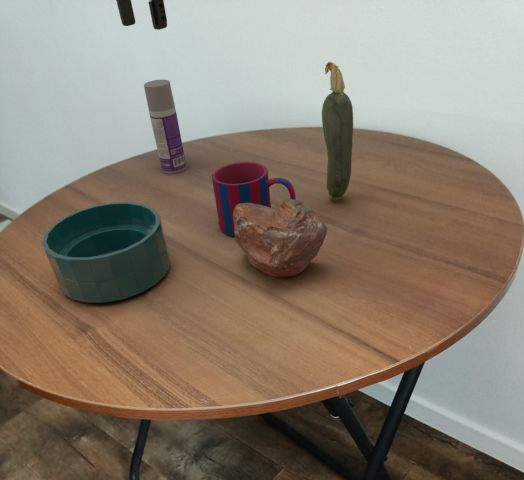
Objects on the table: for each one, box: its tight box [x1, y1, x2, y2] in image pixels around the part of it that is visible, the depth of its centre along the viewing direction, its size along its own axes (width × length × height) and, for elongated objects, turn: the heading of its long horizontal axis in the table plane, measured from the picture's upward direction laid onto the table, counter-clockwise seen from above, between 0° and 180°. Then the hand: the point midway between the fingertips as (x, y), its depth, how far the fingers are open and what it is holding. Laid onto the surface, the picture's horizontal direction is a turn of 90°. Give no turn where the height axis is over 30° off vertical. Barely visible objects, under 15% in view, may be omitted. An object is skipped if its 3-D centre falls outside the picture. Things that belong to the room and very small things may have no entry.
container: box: [143, 79, 187, 175], centre depth 94 cm, size 5×5×15 cm
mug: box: [211, 161, 296, 238], centre depth 76 cm, size 8×12×8 cm, turn 64°
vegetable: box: [321, 61, 354, 202], centre depth 76 cm, size 4×4×20 cm
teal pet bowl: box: [41, 201, 171, 304], centre depth 70 cm, size 15×15×7 cm
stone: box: [233, 198, 328, 278], centre depth 65 cm, size 13×8×10 cm
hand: (144, 26), depth 83 cm, fingers open, 8 cm apart
